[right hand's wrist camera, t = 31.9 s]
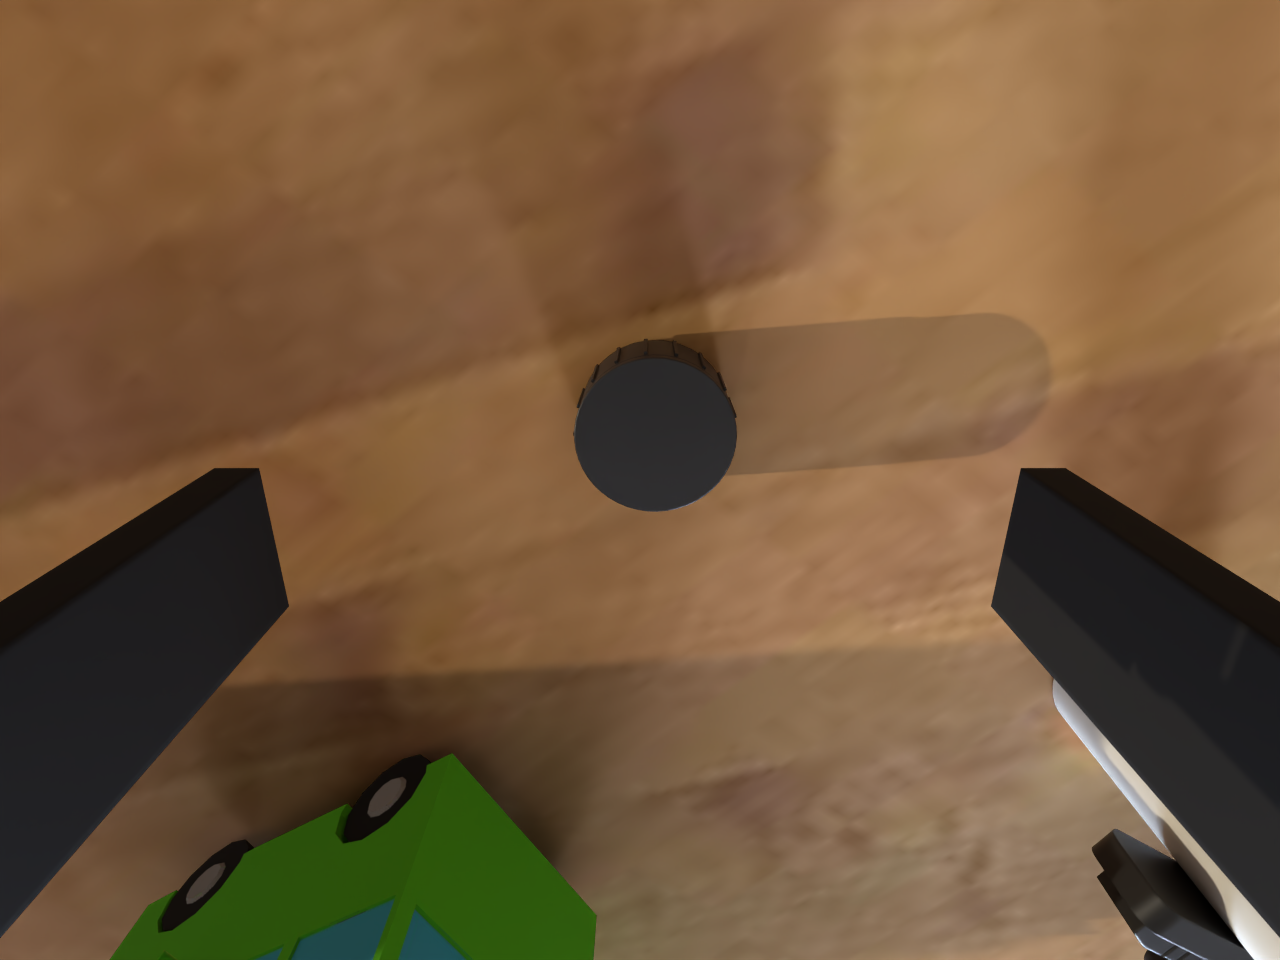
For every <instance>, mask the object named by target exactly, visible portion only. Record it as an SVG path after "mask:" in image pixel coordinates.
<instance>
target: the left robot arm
mask: <svg viewBox="0 0 1280 960" xmlns="http://www.w3.org/2000/svg"><path fill="white" fill-rule="evenodd" d="M1092 851H1093V853H1094V855H1095V857H1096V859H1097V860H1098V862H1099V863H1100V865H1101V866H1102V868H1103V869H1104V871H1103V872H1102V873H1101V874H1100V875H1098V876H1097V878H1098V879H1099V881H1100V883H1101V884H1102V886H1103V887H1104V889H1105V890H1106V892H1107V893H1108V895H1109V896H1110V898H1111V899H1112V901H1113V902H1114V904H1115V906H1116V907H1117V909H1118V910H1119V912H1120V913H1121V915H1122V916H1123V918H1124V919H1125V921H1126V922H1127V924H1128V925H1129V927H1130V928H1131V930H1132V932H1133V933H1134V935H1135V936H1136V937H1137V939H1138V940H1139V942H1140V943H1141V944H1142V946H1143V947H1144V948H1146V949H1148V950H1147V952H1146V953H1145V956H1144V960H1254V959H1253V958H1252V956H1251V955H1250V954H1249V953H1248V951H1247V950H1246V949H1245V948H1244V946H1243V945H1242V944H1241V942H1240V941H1239V940H1238V939H1237V937H1236V936H1235V935H1234V934H1233V932H1232V931H1231V930H1230V928H1229V927H1228V926H1227V925H1226V923H1225V922H1224V921H1223V920H1222V918H1221V917H1220V916H1219V914H1218V913H1217V912H1216V911H1215V909H1214V908H1213V907H1212V906H1211V904H1210V903H1209V902H1208V900H1207V899H1206V898H1205V897H1204V895H1203V894H1202V893H1201V892H1200V890H1199V889H1198V888H1197V887H1196V885H1195V884H1194V883H1193V881H1192V880H1191V879H1190V878H1189V876H1188V875H1187V874H1186V873H1185V871H1184V870H1183V869H1182V867H1181V866H1180V865H1179V864H1178V862H1177V861H1175V860H1173V859H1172V858H1170V857H1168V856H1166V855H1164V854H1162V853H1160V852H1159V851H1157V850H1155V849H1153V848H1151V847H1149V846H1147V845H1146V844H1144V843H1142V842H1140V841H1138V840H1136V839H1134V838H1133V837H1131V836H1129V835H1127V834H1125V833H1123V832H1121V831H1119V830H1117V829H1114V830H1112V831H1111V832H1110V833H1109V834H1108V835H1106V836H1105V837H1104V838H1103V839H1102V840H1100V841H1099V842H1098V843H1097V844H1096V845H1094V846H1093V847H1092Z"/></svg>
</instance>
